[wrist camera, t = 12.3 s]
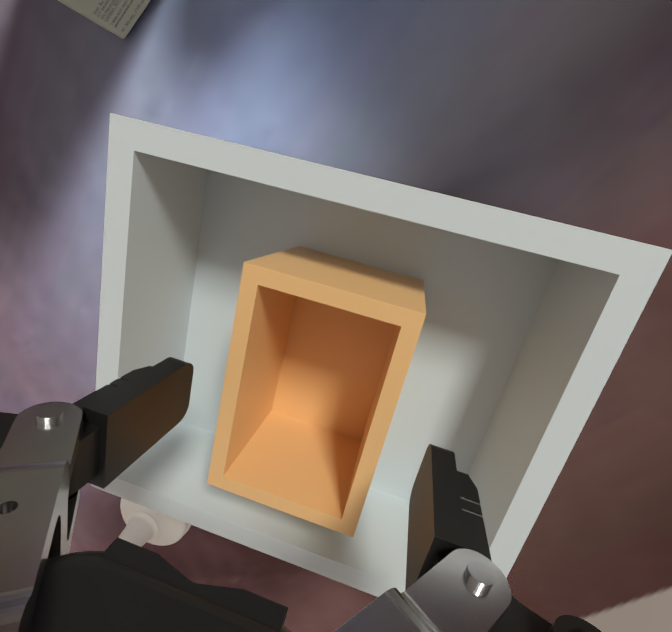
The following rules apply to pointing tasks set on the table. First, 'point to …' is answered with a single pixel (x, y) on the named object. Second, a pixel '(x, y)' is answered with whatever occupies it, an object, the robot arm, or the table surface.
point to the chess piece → (150, 526)
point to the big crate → (429, 355)
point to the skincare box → (110, 13)
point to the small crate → (313, 382)
